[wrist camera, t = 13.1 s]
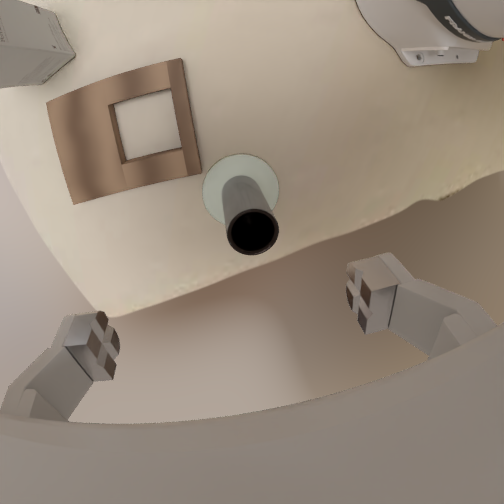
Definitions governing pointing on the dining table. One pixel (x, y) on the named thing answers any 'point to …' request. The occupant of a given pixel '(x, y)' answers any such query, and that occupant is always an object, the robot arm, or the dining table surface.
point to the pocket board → (108, 138)
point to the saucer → (237, 167)
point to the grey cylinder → (248, 216)
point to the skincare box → (30, 44)
